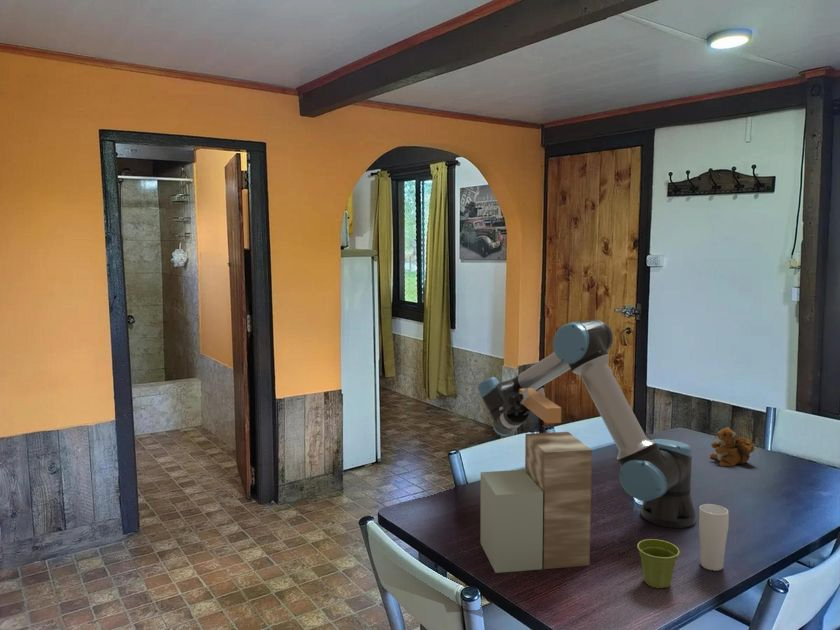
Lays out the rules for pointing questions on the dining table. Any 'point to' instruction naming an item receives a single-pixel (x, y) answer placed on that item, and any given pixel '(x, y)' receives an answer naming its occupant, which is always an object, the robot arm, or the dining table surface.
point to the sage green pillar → (511, 520)
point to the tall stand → (562, 496)
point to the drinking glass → (712, 535)
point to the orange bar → (542, 407)
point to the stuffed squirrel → (731, 448)
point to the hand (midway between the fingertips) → (535, 392)
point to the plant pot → (657, 561)
